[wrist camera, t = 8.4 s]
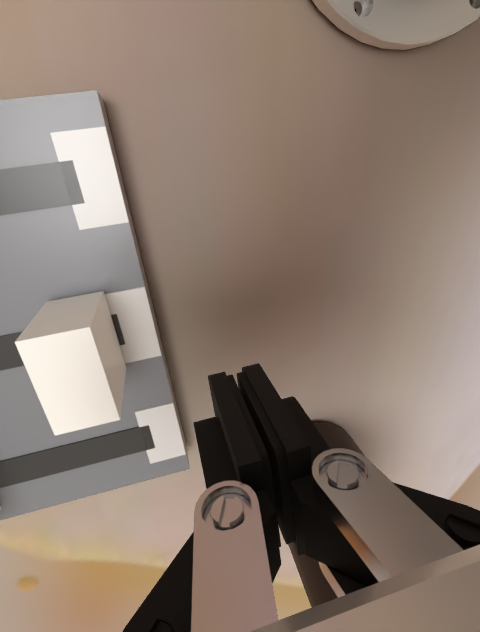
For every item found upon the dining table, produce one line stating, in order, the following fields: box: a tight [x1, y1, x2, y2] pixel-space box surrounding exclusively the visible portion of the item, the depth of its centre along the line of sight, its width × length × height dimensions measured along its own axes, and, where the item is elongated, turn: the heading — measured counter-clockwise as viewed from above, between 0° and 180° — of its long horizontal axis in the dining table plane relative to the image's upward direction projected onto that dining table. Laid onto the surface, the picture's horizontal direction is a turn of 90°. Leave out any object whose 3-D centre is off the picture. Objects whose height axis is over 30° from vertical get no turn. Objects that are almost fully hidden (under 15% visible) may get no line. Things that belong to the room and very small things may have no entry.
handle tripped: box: [15, 291, 126, 436], centre depth 15 cm, size 2×4×4 cm, turn 8°
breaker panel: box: [0, 90, 189, 520], centre depth 17 cm, size 14×19×2 cm
